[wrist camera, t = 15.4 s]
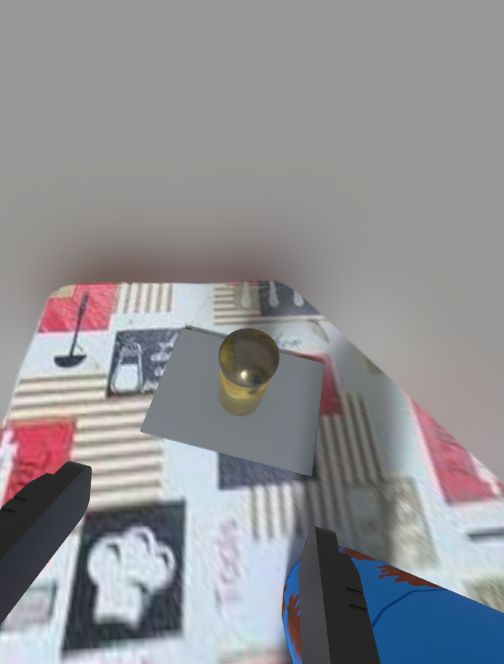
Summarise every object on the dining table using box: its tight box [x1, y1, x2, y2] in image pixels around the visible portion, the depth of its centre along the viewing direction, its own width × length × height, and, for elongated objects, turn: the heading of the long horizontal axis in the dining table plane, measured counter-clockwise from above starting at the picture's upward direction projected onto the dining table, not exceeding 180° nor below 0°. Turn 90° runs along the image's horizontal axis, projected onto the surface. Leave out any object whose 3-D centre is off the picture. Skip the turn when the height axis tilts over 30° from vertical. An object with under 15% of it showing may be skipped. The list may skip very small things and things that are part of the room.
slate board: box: [140, 328, 325, 476], centre depth 37 cm, size 20×14×1 cm
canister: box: [219, 328, 280, 416], centre depth 31 cm, size 5×5×12 cm
